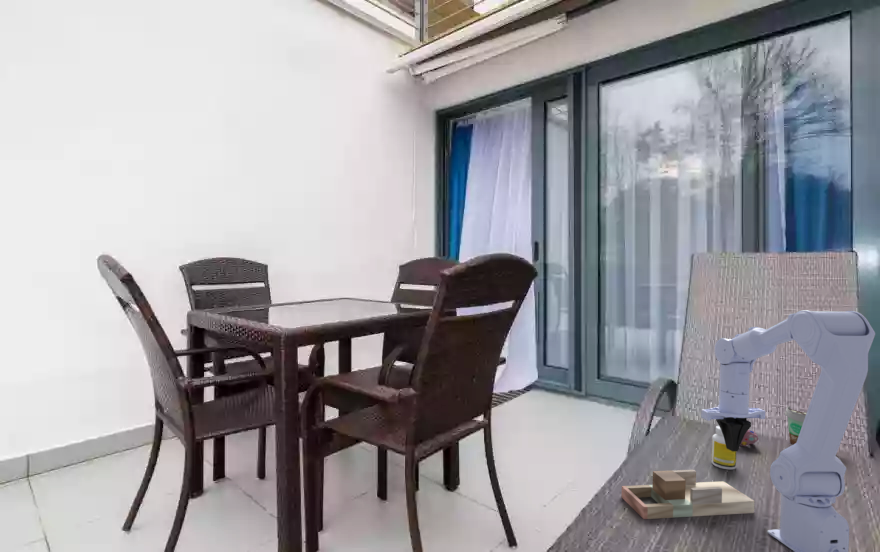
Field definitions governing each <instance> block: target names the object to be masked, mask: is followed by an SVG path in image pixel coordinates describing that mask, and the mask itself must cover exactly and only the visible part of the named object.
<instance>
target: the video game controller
mask: <svg viewBox="0 0 880 552" xmlns="http://www.w3.org/2000/svg"><path fill="white" fill-rule="evenodd" d="M715 434H717V433H716V432H715ZM758 440H759V436H758V434H757V432H755V431H754V430H753V428H751V427H750V428H749V429H748V431H747V432H746V434H745V435H744V437H743V439H742V441H741V444H740V446H742V447H747V446H748V445H754V444H755V443H756V442H758Z"/></svg>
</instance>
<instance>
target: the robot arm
mask: <svg viewBox="0 0 880 552" xmlns="http://www.w3.org/2000/svg"><path fill="white" fill-rule="evenodd" d="M875 336H876V332H875V330H874V329H873V327H872V325H871V324H870V322H869V320H868V319H867V318H866V316H864V315H863V314H862V313H861V312H858V311H856V310H855V311H854V310H845V311H826V310H825V311H824V310H823V311H820V310H818V311H817V310H814V311H813V310H807V309H805V310H804V309H802V310H799V311H797V312H794V313H790V314H788V315H787V318H786V319H784V320H782V321H780V322H778V323H776V324H775V325H773V326H770V327H769V328H762V327H759V326H751V327H748V330H747V331H745V332H743V333H737V334H735V336H734V337H732V338H725V337H721V338H719V339H718V340H717V341H716V342H715V344H714V355H715V358H716V360H717V361H718V363H719V366H720V367H719V389H718V390H719V393H718V395H719V396H718V404H717V406H716V407H711V408H707V409H705V408H704V409H701V414H700V418H701V419H702V420H703V419H704V420H706V421H707V422H708V421H710V422H711V421H712V420H715V422H716V423H717V424H718V426H720V428H721V431H722V433H723V436H724V440H725V444H726V448H727V449H729V450H731V451H733V452H735V451H736V452H739V449H740V448H741V447H740V446H741V445H740V444H741V441H742V439H743V437H744V435H745V434H746V432H747V431H748V429H749V428H751V427H752V422H751V421H749V420H748V419H760V420H766V410H765V409H761V408H759V407H749V406H750V405H749V404H750V379H751V377H750V376H751V375H750V374H751V373H752V372H753V370H754V364H755V363H756V361H757V359H758V358H759V359H760V358H763V357H765V356H768V355H770V354H772V353H774V352H775V351H776V350H777V347H778V345H782V344H784V343H789V342H791V341H795V342H796V344H797V345H798V346H799V347H800V349H801V350H802V351H803V352H804V354H805V355H806V356H807V357H808V358H809V359H810V360H811V362H812V363H814V364H816V365H818V366H819V367H820V370H821V371H820V374H819V377H818V379H817V382H816V385H815V388H814V391H813V394H812V397H811V399H810V402H809V405H808V407H807V411H806V416H805V419H804V422H803V425H802V428H801V431H800V434H799V436H798V439H797V442H796V443H795V444H794V445H792V444H791V445H790V446H788V447H785V449H782V450H781V451H780V453H779V456H778V458H776V459H775V460H774V461H773V462H772V463H771V465H770V469H769V475H770V479H771V482H772V485H773V486H774V487H775V489H776V491H777V492H778V493H779V494H780V509H779V510H780V511H779V515H780V516H779V528H777V529H768V530H767V534H769V535H770V536H771V537H773V538H774V539H776V540H777V541H779V542H780V543H782V544H783V545H784V546H786V547H787V548H789V550H792V552H849V551H850V550H849V546H850V543H849V542H850V525H849V522H848V520H847V519H846V518H845V517H844V516H843V515H841V514H840V512H837V510H836V509H835V508H834V506H833V504H836V503H837V502H836V500H837V499H836V498H837V497H840V496H842V495H843V494H844V491H845V489H846V482H845V475H846V472H847V467H846V465H845V464H844V463H843V462H842V460H841V459H840V458H839V457H837V456H836V455H837V453H838V451H839V448H840V446H841V442H842V440H843V439H844V438H843V437H844V435H845V432H846V430H847V427H848V425H849V422H850V419H851V417H852V414H853V413H854V409H855V406H856V404H857V402H858V399H859V396H860V394H861V391H862V388H863V386H864V383H865V381H866V379H867V376H868V372H869V351H870V349H871V347H872V344H873V341H874V338H875Z"/></svg>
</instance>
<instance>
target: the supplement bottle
mask: <svg viewBox="0 0 880 552" xmlns="http://www.w3.org/2000/svg"><path fill="white" fill-rule="evenodd" d="M716 433H717V434H716ZM710 462H711V464H712V465H714V466H715V467H717V468H719V469H723V470H735V469H736V468H737V451H735V452H733V451H731V450H729V449H727V448H726V444H725V440H724V436H723V433H722V431H721V428H720V426H719V425H716V426H715V433H714V434H713V435H712V436H711V461H710Z"/></svg>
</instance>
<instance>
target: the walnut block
mask: <svg viewBox="0 0 880 552" xmlns="http://www.w3.org/2000/svg"><path fill="white" fill-rule="evenodd" d="M673 471H674V470H655V471H654V470H653V471H652V485H653V486H652V489H653V490H654V491H655V492H656V493H657V494H659V495H660V496H661V497H662V498H663V499H664V500H677V499H685V486H686V480H685V479H683V478H682V477H680V476H679V475H678V474H676V473H675V472H673Z"/></svg>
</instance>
